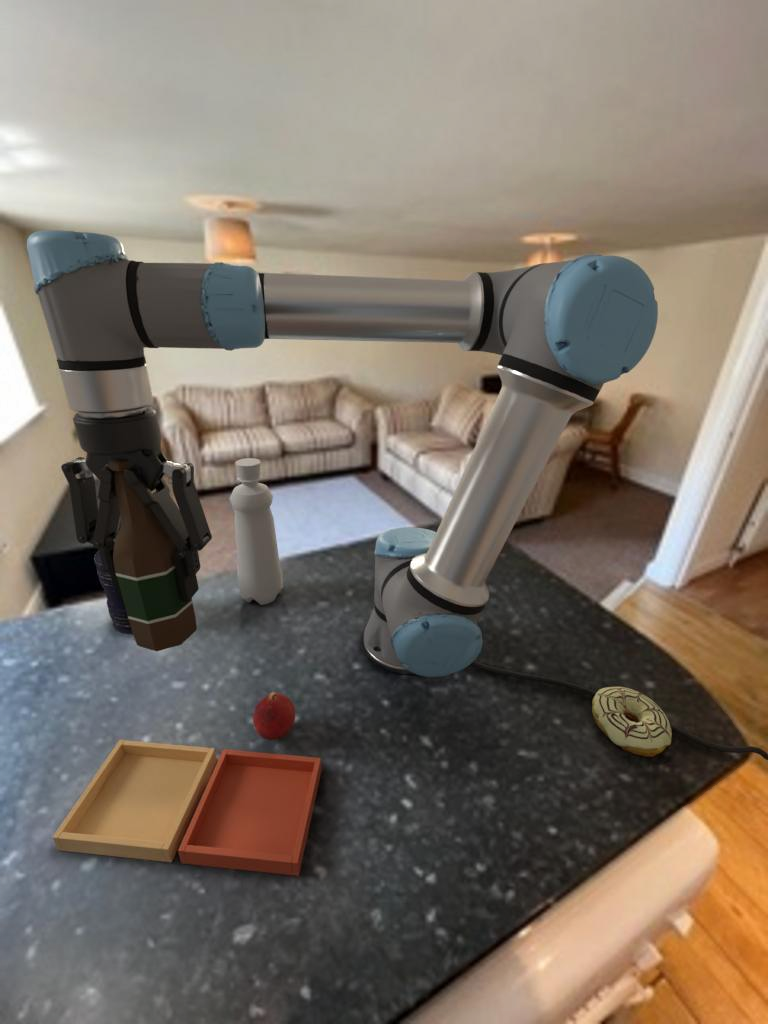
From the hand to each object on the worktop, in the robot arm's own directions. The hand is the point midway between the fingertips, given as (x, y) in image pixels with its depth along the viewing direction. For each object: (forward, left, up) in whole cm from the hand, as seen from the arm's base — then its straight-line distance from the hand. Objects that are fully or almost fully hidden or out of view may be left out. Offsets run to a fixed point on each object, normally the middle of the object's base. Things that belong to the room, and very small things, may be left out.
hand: (158, 592), depth 56 cm
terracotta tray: (-14, +11, -24) cm, 30 cm away
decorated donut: (-65, -6, -24) cm, 70 cm away
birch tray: (0, +11, -24) cm, 26 cm away
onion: (-13, 0, -24) cm, 28 cm away
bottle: (0, -33, -24) cm, 41 cm away
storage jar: (+21, -23, -24) cm, 40 cm away
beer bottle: (0, 0, -6) cm, 6 cm away
